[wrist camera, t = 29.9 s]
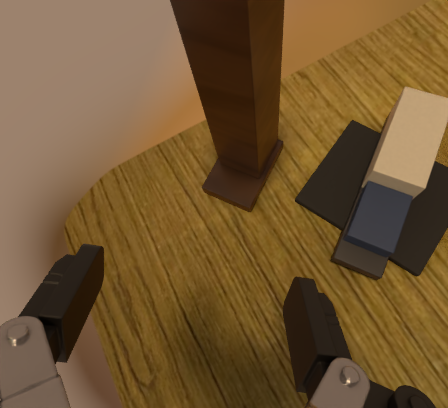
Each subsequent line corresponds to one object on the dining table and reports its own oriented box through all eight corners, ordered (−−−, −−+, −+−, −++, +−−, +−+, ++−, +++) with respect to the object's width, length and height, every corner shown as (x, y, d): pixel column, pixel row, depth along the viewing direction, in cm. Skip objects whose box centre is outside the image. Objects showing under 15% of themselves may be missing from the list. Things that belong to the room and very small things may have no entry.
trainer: (376, 280, 31) (397, 272, 26) (330, 260, 33) (342, 248, 28) (428, 131, 36) (455, 99, 31) (386, 118, 37) (405, 86, 32)
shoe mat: (294, 201, 36) (295, 198, 35) (350, 123, 38) (352, 119, 38) (416, 276, 32) (419, 275, 31) (470, 183, 34) (475, 180, 33)
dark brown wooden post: (250, 212, 36) (178, -213, 7) (204, 192, 38) (-3, -224, 9) (283, 147, 39) (325, -374, 10) (238, 131, 40) (159, -359, 11)
